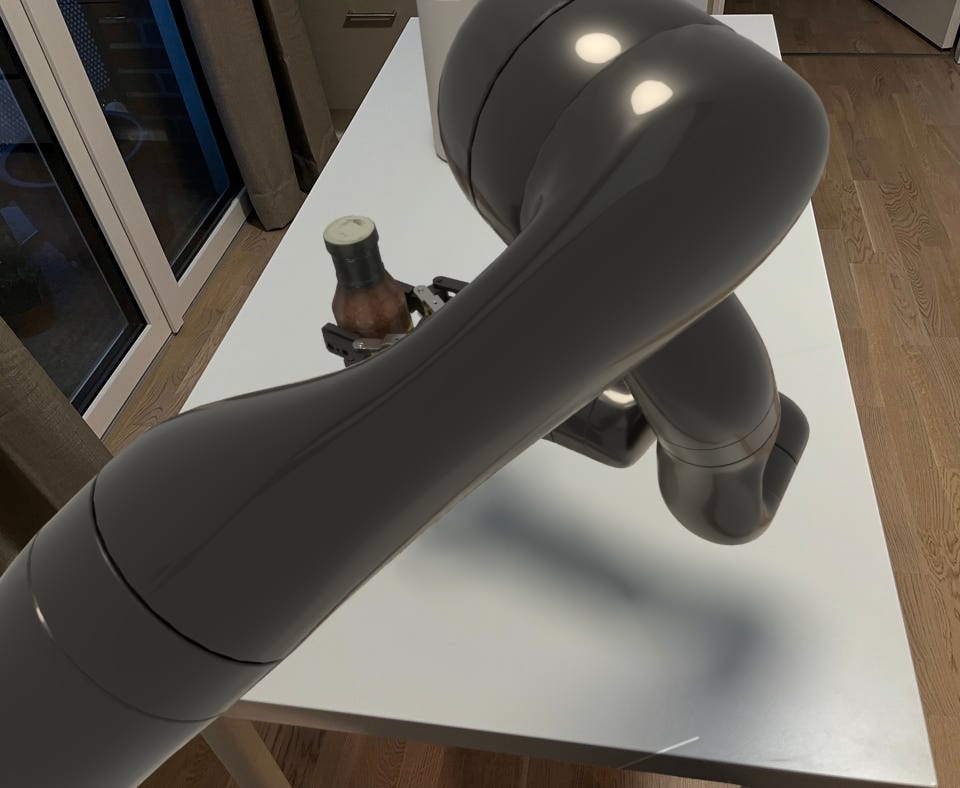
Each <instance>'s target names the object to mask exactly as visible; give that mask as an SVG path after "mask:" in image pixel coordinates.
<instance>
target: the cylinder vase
mask: <svg viewBox="0 0 960 788" xmlns="http://www.w3.org/2000/svg"><path fill="white" fill-rule="evenodd" d="M478 1H479V0H416V1H415V2H416V9H417V16H418V17H417V18H418V25H419V32H420V41H421V49H422V56H423V57H422V58H423V65H424V73H425V81H426V89H427V97H428V104H429V112H430V113H429V114H430V121H431V129H432V136H433V144H434V150H435V153H436V154H437V155H438V156H439V157H440V159H442V160H444V161H446V162H447V159H446V156H445V152H444V149H443V146H442V143H441V139H440V133H439V124H438V115H437V105H438V92H439V82H440V78H441V74H442V70H443V66H444V62H445V59H446V55H447V53H448V51H449V49H450V46H451V44H452V42H453V40H454V38H455V35H456V33H457V31H458V29H459V28H460V26H461V25H462V23H463V22H464V20H465V19H466V17H467V16H468V15H469V13H470V12H471V10H472V9H473V7H474V6H475V5H476V4H477V2H478Z"/></svg>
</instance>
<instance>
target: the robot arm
mask: <svg viewBox="0 0 960 788" xmlns="http://www.w3.org/2000/svg"><path fill="white" fill-rule="evenodd" d="M437 115H438V124H439V133H440V139H441V143H442V146H443V149H444V152H445V156H446V159H447V161H446V162H447V164H448V165H447V166H448V167H449V169H450V171H451V173H452V176H453V177H454V180H455V182H456V183H457V185H458V187H459V188H460V190H461V192H462V193H463V195H464V197H465V198H466V200H467V201H468V202H469V204H470V206H472V208H473V209H474V210H475V211H476V212H477V214H478V215H479V216H480V217H481V218H482V220H483V221H484V222H485V223H486V224H487V225H488V226H489V227H490V228H491V230H492V231H493V232H494V233H495V234H496V235H497V236H498V238H500V240H501V241H502V242H503V243H504V244H505V245H506V246H507V247H506V248H505V249H504V250H503V251H502V252H501V253H500V254H499V255H498V256H497V257H496V258H495V259H494V260H493V261H492V262H490V264H489V265H487V266H486V268H484V269H483V270H482V271H481V272H480V273H479V274H478V275H477V276H476V277H475V278H474V279H473V280H471V282H468V281H464V280H460V279H457V278H456V279H455V278H452V277H447V276H443V275H437V276H435V277H434V278H433V279H432V283H431V284H429V285H427V286H426V285H424V284H419V285H416V286H415V285H412V284H410V283H406V282H404V281H401V280H399V279H396V278H394V279H395V280H396V281H397V283H399V284H400V285H401V286H402V287H403V289H404V293H405V297H406V302H407V306H408V310H409V312H410V314H411V315H412V314H414V313H415V312H416V313H417V315H418V316H419V318H420V319H419V320H418V322H417V323H416V325H415V326H414V328H412V329H411V330H409V331H407V332H406V333H405V334H386V335H384V337H383V338H361V336H360V335H359V334H356V333H354V332H351V331H349V330H347V329H344V328H342V327H339V326H337V324H334V323H332V322H327V323H326V324H324V325H323V326H322V327H321V333H322V338H323V342H324V345H325V348H326V350H327V351H328V353H330V354H333V355H336V356H338V357H339V358H342V359H343V365H344V368H341V369H338V370H335V371H331V372H329V373H327V372H326V373H325V374H320V375H318V376H314V377H313V376H312V377H310V378H307V379H302V380H298V381H293V382H289V383H285V384H280V385H275V386H271V387H267V388H261V389H259V390H254V391H249V392H246V393H242V394H236V395H233V396H230V397H226V398H222V399H219V400H215V401H212V402H208V403H205V404H204V403H203V404H201V405H197V406H195V407H193V408H190V409H188V410H184V411H183V412H180V413H178V414H175V415H173V416H170V417H168V418H166V419H164V420H161V421H159V422H158V423H155V424H154V425H153V426H151V427H149V428H147V429H146V430H145V431H143V432H142V433H141V434H139V435H138V436H136V437H135V438H134V439H132V441H130V442H129V443H128V444H127V445H126V446H124V447H123V449H121V450H120V451H119V452H118V453H117V454H116V455H115V456H113V457H112V458H111V459H110V460H109V461H108V462H106V463H105V465H104V466H103V467H102V468H101V469H100V470H99V471H98V472H97V473H96V474H95V475H94V476H93V477H92V478H91V479H90V480H89V481H88V482H87V483H86V484H85V485H84V486H83V487H82V488H81V489H80V490H79V491H78V492H77V493H76V494H75V495H74V496H73V497H72V498H71V499H70V500H68V502H67V503H66V504H65V505H64V506H62V508H61V509H59V510H58V511H57V513H55V514H54V515H53V516H52V518H50V519H49V520H48V521H47V522H46V523H45V524H44V525H43V526H42V527H40V529H39V530H38V531H37V532H36V534H34V535H33V537H32V538H31V539H30V540H29V541H28V543H27V544H26V545H25V546H24V548H22V550H21V551H20V552H19V554H18V555H17V556H16V557H15V558H14V559H13V561H12V562H11V563H10V565H9V566H8V567H7V568H6V570H5V571H4V572H3V574H2V575H1V576H0V788H138V787H139V786H140V785H141V784H142V783H143V782H144V781H145V780H147V778H149V777H150V776H151V775H152V774H153V773H154V772H155V771H157V769H158V768H160V767H161V766H162V765H163V764H164V763H165V762H166V761H167V760H169V759H170V758H171V757H172V756H173V755H174V754H176V753H177V752H178V751H179V750H181V749H182V748H183V747H184V746H185V745H186V744H188V743H189V742H190V741H192V740H193V739H194V738H195V737H196V736H197V735H199V734H200V733H202V731H204V730H205V729H206V728H207V727H209V726H210V725H211V724H212V723H213V722H215V721H216V720H217V719H219V718H220V717H221V716H222V715H224V713H226V712H227V711H228V710H230V709H231V708H232V707H233V706H234V705H235V704H236V703H237V702H238V701H240V699H242V698H243V697H244V696H246V694H247V693H248V692H250V691H252V689H253V688H254V687H255V686H256V685H258V684H259V683H260V682H261V681H262V680H263V679H265V678H266V676H268V675H269V674H270V673H271V672H272V671H273V670H275V669H276V668H277V667H278V666H279V665H280V664H281V663H282V662H283V661H285V659H287V658H288V657H289V656H290V655H292V654H293V653H294V652H295V651H296V650H297V649H298V648H300V647H301V645H303V644H304V643H305V642H306V640H308V639H310V637H311V636H312V635H313V634H314V633H315V632H316V631H317V630H318V629H319V628H320V627H321V626H322V625H323V624H324V623H326V621H328V619H330V617H331V616H333V615H334V614H335V613H336V612H337V611H338V610H339V609H340V608H341V607H342V606H343V605H344V604H345V603H346V602H347V601H348V600H350V598H352V597H353V596H354V595H355V594H356V593H357V592H359V590H360V589H361V588H363V587H364V586H365V585H366V584H367V583H369V581H370V580H371V579H373V578H375V576H376V575H377V574H379V572H380V571H382V570H383V569H385V567H386V566H388V565H389V564H390V563H391V562H392V561H393V560H394V559H395V558H397V557H398V556H399V555H400V554H401V553H402V552H403V551H404V550H406V549H407V548H408V547H409V546H410V545H411V544H413V543H414V542H415V541H416V540H417V539H418V538H419V537H420V536H421V535H423V534H424V533H426V531H427V530H428V529H430V528H431V527H432V526H433V525H434V524H436V523H437V522H438V521H439V520H440V519H442V518H443V517H444V516H445V515H446V514H447V513H448V512H450V511H451V510H452V509H453V508H454V507H456V506H457V505H458V504H459V503H460V502H461V501H463V500H464V499H465V498H466V497H467V496H468V495H470V494H472V492H474V490H476V489H478V487H480V486H481V485H482V484H483V483H484V482H486V481H487V480H488V479H490V478H492V476H493V475H495V474H496V473H497V472H498V471H500V470H501V469H502V468H504V467H506V465H508V464H509V463H510V462H512V461H513V460H515V459H516V458H517V457H518V456H520V455H521V454H522V453H523V452H525V451H527V450H528V449H529V448H531V447H532V446H533V445H534V444H536V443H538V441H541V440H544V441H548V442H551V443H553V444H557V445H558V446H560V447H563V448H566V449H568V450H570V451H572V452H574V453H576V454H579V455H581V456H584V457H586V458H589V459H591V460H593V461H596V462H598V463H600V464H602V465H605V466H608V467H611V468H614V469H620V470H621V469H622V470H623V469H627V468H630V467H632V466H634V465H635V464H636V463H637V462H638V461H640V459H642V458H643V456H644V455H645V454H646V453H647V452H648V450H649V449H650V448H651V446H652V445H653V444H654V443H655V442H656V446H655V447H656V448H655V454H656V457H655V458H656V475H657V477H656V478H657V483H658V490H659V492H660V495H661V498H662V501H663V502H664V504H665V506H666V508H667V510H668V511H669V512H670V514H671V515H672V516H673V517H674V518H675V520H676V521H677V522H678V523H679V524H680V525H681V526H683V528H685V529H686V530H687V531H688V532H690V533H692V534H693V535H694V536H697V537H698V538H700V539H702V540H705V541H707V542H710V543H712V544H716V545H720V546H729V547H731V546H742V545H746V544H749V543H751V542H753V541H756V540H757V539H759V538H760V537H761V536H763V535H764V534H765V533H766V532H767V531H768V529H769V528H770V526H771V525H772V523H773V521H774V520H775V517H776V515H777V512H778V511H779V509H780V506H781V503H782V501H783V499H784V496H785V495H786V492H787V491H788V487H789V486H790V483H791V481H792V479H793V477H794V474H795V472H796V470H797V467H798V466H799V463H800V461H801V459H802V456H803V454H804V452H805V449H806V447H807V445H808V442H809V439H810V431H811V430H810V429H811V428H810V424H809V421H808V418H807V416H806V415H805V413H804V412H803V410H802V408H800V406H799V405H798V404H797V403H796V402H795V401H794V400H793V399H791V398H790V397H788V396H787V395H786V394H784V393H783V392H781V391H779V389H778V384H777V381H776V380H777V379H776V375H775V370H774V368H773V364H772V361H771V357H770V354H769V351H768V348H767V346H766V344H765V342H764V339H763V338H762V336H761V334H760V332H759V330H758V328H757V326H756V325H755V322H754V320H753V319H752V317H751V316H750V314H749V312H748V310H747V309H746V308H745V306H744V305H743V303H742V302H741V300H740V299H739V297H738V295H737V294H736V293H735V291H736V290H737V289H738V288H739V287H740V286H741V285H742V284H744V282H746V280H747V279H749V277H750V276H751V275H752V274H753V273H754V272H756V271H757V269H758V268H759V267H761V265H762V264H763V263H764V262H765V261H766V260H767V259H768V258H769V257H770V255H771V254H773V252H775V250H776V249H777V248H778V247H779V246H780V245H781V244H782V242H783V241H784V239H785V238H786V236H787V235H788V234H789V233H790V232H791V230H792V229H793V228H794V226H795V225H796V223H797V222H798V221H799V219H800V217H801V216H802V214H803V213H804V211H805V210H806V208H807V206H808V205H809V203H810V202H811V199H812V198H813V195H814V193H815V192H816V189H817V188H818V186H819V185H820V182H821V179H822V177H823V174H824V171H825V167H826V163H827V160H828V157H829V153H830V146H831V145H830V144H831V127H830V125H831V124H830V120H829V115H828V114H827V111H826V108H825V106H824V104H823V102H822V99H821V98H820V96H819V94H818V93H817V91H816V90H815V89H814V88H813V87H812V85H811V84H810V83H808V82H807V81H806V80H805V79H804V78H803V76H801V75H800V74H799V73H797V71H795V70H794V69H792V67H790V66H789V65H788V64H787V63H785V62H784V61H782V60H781V59H780V58H778V57H777V56H776V55H774V54H773V53H771V52H770V51H768V50H766V49H765V48H764V47H762V46H760V45H759V44H757V43H756V42H755V41H753V40H752V39H750V38H749V37H745V36H744V35H743V34H740V33H739V32H737V31H736V30H734V29H733V28H732V27H731V26H730V25H729V26H728V25H727V24H725V23H724V22H722V21H720V20H719V19H717V18H716V17H714V16H713V15H711V14H709V13H708V12H705V10H703V9H700V7H697V6H695V5H694V4H693V3H691V2H689V1H688V0H479V1H478V2H477V4H476V5H475V6H474V7H473V9H472V10H471V12H470V13H469V15H468V16H467V17H466V19H465V20H464V22H463V23H462V25H461V26H460V28H459V29H458V31H457V33H456V35H455V38H454V40H453V42H452V44H451V46H450V49H449V51H448V53H447V55H446V59H445V62H444V66H443V70H442V74H441V78H440V82H439V92H438V105H437ZM449 293H452V294H455V295H450V294H449ZM371 353H376V354H375V355H373V356H372V355H371Z"/></svg>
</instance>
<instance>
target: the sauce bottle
mask: <svg viewBox="0 0 960 788" xmlns="http://www.w3.org/2000/svg"><path fill="white" fill-rule="evenodd" d="M322 238H323V242H324V245H325V249H326V251H327V253H328V254H329V255H330V257H331V260H332V263H333V264H332V265H333V267H334V271H335V277H336V286H335V290H334V294H333V297H332V301H331V311H332V315H333V316H334V319H335V322H336V325H337V326H339V327H342V328H344V329H347V330H349V331H351V332H354V333H356V334H359V335H360V336H361V338H383V337H384V335H386V334H405V333H406V332H407V331H409V330H411V329H412V328H414V327H415V325H414V321H413V318H412V313H410V312H409V310H408V306H407V302H406V297H405V293H404V289H403V287H402V286H401V285H400V284H399V283H397V281H396V280H397V279H396V278H394V277H393V276H392V275H391V273H390V272H389V271H388V270H387V269H386V267H385V264H384V262H383V260H382V256H381V251H380V246H379V244H378V243H379V240H380V236H379V232H378V230H377V226H376V223H375V221H373V220H372V219H371V218H370V217H368V216H365V215H353V214H352V215H344V216H342V217H338V218H337V219H335V220H333V221H331V222H330V223H329V224H328V225H327V226H326V227H325V229H324V230H323V233H322ZM395 279H396V280H395ZM375 354H376V353H371V355H372V356H373V355H375Z"/></svg>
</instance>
